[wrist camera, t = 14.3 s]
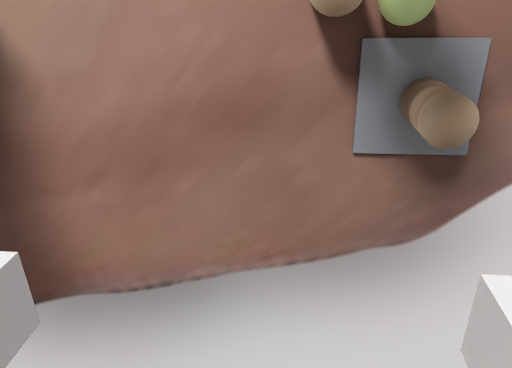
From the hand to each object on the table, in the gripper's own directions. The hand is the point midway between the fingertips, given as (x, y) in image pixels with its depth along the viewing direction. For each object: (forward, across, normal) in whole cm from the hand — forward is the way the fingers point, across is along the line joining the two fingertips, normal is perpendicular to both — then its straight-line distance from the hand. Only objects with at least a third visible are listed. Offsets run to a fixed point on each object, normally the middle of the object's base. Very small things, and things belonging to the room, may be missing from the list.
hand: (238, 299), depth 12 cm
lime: (+32, +10, +7) cm, 34 cm away
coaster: (+32, +12, -2) cm, 34 cm away
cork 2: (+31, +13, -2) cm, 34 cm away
